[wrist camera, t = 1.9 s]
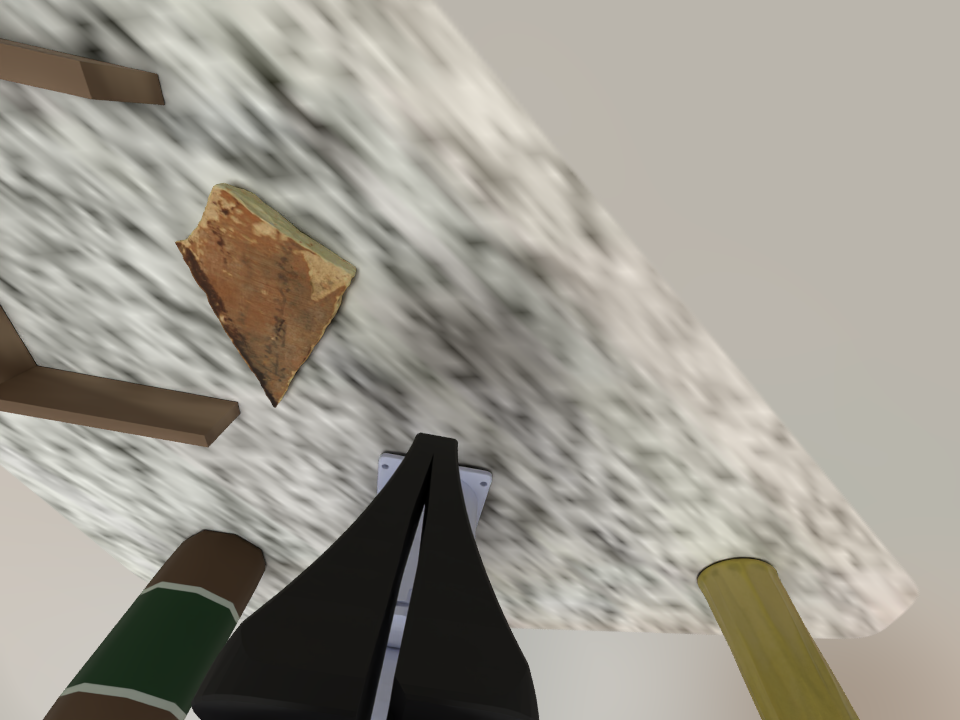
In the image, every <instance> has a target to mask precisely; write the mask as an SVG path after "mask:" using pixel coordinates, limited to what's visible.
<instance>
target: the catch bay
mask: <svg viewBox="0 0 960 720" xmlns="http://www.w3.org/2000/svg"><path fill="white" fill-rule="evenodd" d="M0 79H3V80H7V81H12V82H16V83H21V84H25V85H30V86H34V87H39V88H44V89H48V90H53V91H57V92H62V93H66V94H71V95H75V96H80V97H84V98H89V99H95V100H108V101H120V102H133V103H145V104H158V105H165V104H164V100H163V96H162V92H161V88H160V84H159V80H158V76H157V74H155V73H150V72H146V71H142V70H137V69H133V68H128V67H124V66H119V65H115V64H111V63H106V62H102V61H97V60H93V59H89V58H84V57H80V56H75V55H71V54H67V53H62V52H58V51H53V50H49V49H45V48H40V47H36V46H31V45H27V44H23V43H18V42H14V41H9V40H5V39H1V38H0ZM0 411H3V412H9V413H15V414H21V415H26V416H32V417H38V418H43V419H49V420H55V421H61V422H66V423H72V424H78V425H83V426H89V427H95V428H101V429H106V430H112V431H118V432H123V433H129V434H135V435H141V436H146V437H152V438H158V439H163V440H169V441H175V442H181V443H186V444H192V445H198V446H203V447H209V446H210V445H211V444H212V443H213V442H214V441H215V440H216V439H217V438H218V437H219V435H220V434H221V433H222V432H223V431H224V430H225V429H226V428H227V427H228V426H229V425H230V424H231V423H232V422H233V421H234V420H235V419H236V417H237V416H238V415H239V414H240V411H239V407H238V403H237V402H233V401H227V400H222V399H216V398H211V397H205V396H200V395H194V394H189V393H183V392H178V391H172V390H167V389H161V388H156V387H150V386H145V385H139V384H134V383H128V382H123V381H117V380H112V379H106V378H101V377H95V376H90V375H84V374H79V373H73V372H68V371H62V370H57V369H51V368H46V367H40V366H37V365H36V364H35V362H34V360H33V359H32V357H31V356H30V354H29V352H28V351H27V349H26V347H25V346H24V344H23V342H22V341H21V339H20V337H19V336H18V334H17V333H16V331H15V329H14V328H13V326H12V324H11V323H10V321H9V319H8V318H7V316H6V314H5V313H4V311H3V309H2V308H1V306H0Z"/></svg>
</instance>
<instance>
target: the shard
mask: <svg viewBox="0 0 960 720" xmlns="http://www.w3.org/2000/svg"><path fill="white" fill-rule="evenodd" d="M175 243H176V245H177V247H178V249H179V251H180V252H181V254H182V255H183V259H184V261H185V262H186V264H187V265H188V266H189V268H190V271H191V273H192V275H193V277H194V279H195V280H196V282H197V284H198V285H199V287H200V288H201V289H202V290H203V291H204V292H205V293H206V295H207V298H208V302H209V304H210V306H211V307H212V309H213V311H214V313H215V314H216V316H217V317H218V319H219V321H220V322H221V324H222V326H223V328H224V330H225V332H226V333H227V335H228V336H229V338H230V339H231V340H232V343H233V344H234V345H235V347H236V348H237V350H238V351H239V353H240V355H241V356H242V358H243V359H244V360H245V362H246V363H247V364H248V366H249V368H250V369H251V371H252V372H253V373H254V374H255V375H256V377H257V379H258V380H259V382H260V384H261V386H262V388H263V389H264V391H265V394H266V396H267V397H268V398H269V400H270V401H271V403H272V405H273V407H276V406H277V405H278V403H279V402H280V401H281V400H282V398H283V396H284V394H285V393H286V391H287V389H288V386H289V384H290V382H291V380H292V379H293V377H294V375H295V373H296V372H297V370H298V369H299V367H300V366H301V365H302V364H303V363H304V362H305V361H306V360H307V358H308V357H309V355H310V354H311V352H312V350H313V348H314V346H315V345H316V344H317V343H318V342H319V340H320V339H321V337H322V335H323V334H324V332H325V329H326V327H327V326H328V325H329V324H330V322H331V320H332V319H333V317H334V316H335V315H336V313H337V311H338V309H339V307H340V305H341V301H342V295H343V294H344V292H345V290H346V289H347V287H348V286H349V285H350V283H351V280H352V278H353V277H354V276H355V273H356V267H354V266H353V265H352V264H350V263H349V262H347V261H345V260H344V259H342V258H340V257H339V256H337V255H336V254H335V253H333V252H331V251H330V250H329V249H327V248H326V247H324V246H323V245H321V244H319V243H318V242H316V241H315V240H313V239H311V238H310V237H308V236H307V235H305V234H304V233H301V232H300V231H299V230H298V229H297V228H296V227H295V226H293V225H292V224H291V223H290V222H289V221H287V220H286V219H285V218H284V217H283V216H281V215H280V214H279V213H278V212H277V211H275V210H273V209H272V208H271V207H269V206H268V205H266V204H265V203H264V202H262V201H261V200H260V199H259V198H258V197H257V196H256V195H255V194H253V193H251V192H248V191H246V190H244V189H240V188H237V187H234V186H231V185H228V184H226V183H221V184H216V185H215V186H213V188H212V191H211V193H210V195H209V198H208V202H207V206H206V207H205V211H204V212H203V216H202V219H201V221H200V222H199V224H198V226H197V227H196V229H195V230H194V231H193V232H192V233H191V235H189V237H188V239H186V240H180V241H176V242H175Z"/></svg>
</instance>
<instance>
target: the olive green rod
mask: <svg viewBox="0 0 960 720" xmlns="http://www.w3.org/2000/svg"><path fill="white" fill-rule="evenodd" d="M698 586H699V588H700V589H701V591H702V592H703V594H704V596H705V598H706V600H707V602H708V604H709V606H710V608H711V610H712V612H713V615H714V617H715V619H716V621H717V623H718V625H719V626H720V628H721V631H722V633H723V635H724V637H725V639H726V641H727V643H728V645H729V647H730V649H731V652H732V654H733V656H734V658H735V661H736V663H737V665H738V667H739V670H740V672H741V674H742V677H743V679H744V681H745V684H746V685H747V688H748V690H749V692H750V695H751V697H752V699H753V701H754V703H755V706H756V708H757V710H758V712H759V714H760V717H761V719H762V720H860V719H859V718H858V716H857V714H856V712H855V711H854V709H853V707H852V706H851V704H850V702H849V700H848V698H847V697H846V695H845V693H844V692H843V689H842V688H841V686H840V684H839V682H838V681H837V679H836V677H835V676H834V674H833V672H832V670H831V669H830V667H829V665H828V663H827V662H826V660H825V659H824V657H823V655H822V653H821V652H820V650H819V648H818V647H817V645H816V644H815V642H814V640H813V638H812V637H811V635H810V633H809V632H808V630H807V628H806V627H805V625H804V623H803V621H802V619H801V617H800V616H799V614H798V612H797V610H796V608H795V606H794V605H793V603H792V601H791V599H790V597H789V595H788V594H787V592H786V590H785V588H784V586H783V585H782V583H781V581H780V579H779V577H778V574H777V571H776V570H775V569H774V568H773V567H772V566H771V565H769V564H768V563H765V562H763V561H760V560H756V559H748V558H738V559H730V560H726V561H722V562H718V563H716V564H713V565H711V566H709V567H708V568H706V569H705V570H704V571H702V572H701V574H700V575H699V577H698Z"/></svg>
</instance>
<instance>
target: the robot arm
mask: <svg viewBox="0 0 960 720" xmlns="http://www.w3.org/2000/svg"><path fill="white" fill-rule="evenodd" d="M491 482H492V474H491V473H490V472H488V471H484V470H479V469H473V468H468V467H462V466H459V465H458V441H457V440H456V439H452V438H447V437H441V436H436V435H430V434H425V433H419V434H417V435H416V437H415V440H414V442H413V444H412V445H411V447H410V449H409V451H408V452H407V454H406V456H400V455H395V454H389V453H383V454H381V455H380V458H379V463H378V483H377V496H376V497H375V498H374V500H373V501H372V502H371V503H370V505H369V506H368V507H367V508H366V509H365V510H364V512H363V513H362V514H361V515H360V516H359V517H358V518H357V519H356V521H355V522H354V523H353V524H352V525H351V526H350V527H349V528H348V529H347V530H346V531H345V532H344V533H343V534H342V535H341V536H340V537H339V538H338V539H337V540H336V541H335V542H334V543H333V544H332V545H331V546H330V547H329V548H328V549H327V550H326V551H325V552H324V553H323V554H322V555H321V556H320V557H319V558H318V559H317V560H316V561H315V562H313V563H312V564H311V565H310V566H309V567H308V568H307V569H306V570H304V571H303V572H302V573H301V574H300V575H299V576H298V577H297V578H295V579H294V580H293V581H292V582H291V583H290V584H289V585H287V586H286V587H285V588H284V589H283V590H281V591H280V592H279V593H278V594H277V595H275V596H274V597H273V598H272V599H270V600H269V601H268V602H267V603H265V604H264V605H263V606H262V607H260V608H259V609H258V610H257V611H255V612H254V613H253V614H252V615H250V616H249V617H248V618H247V619H245V620H244V621H243V622H242V623H241V624H240V626H239V627H238V628H237V629H236V631H235V632H234V633H233V635H232V636H231V637H230V638H229V640H228V641H227V643H226V644H225V645H224V647H223V648H222V650H221V651H220V653H219V654H218V656H217V657H216V659H215V660H214V662H213V663H212V665H211V667H210V668H209V670H208V672H207V674H206V676H205V678H204V679H203V681H202V683H201V685H200V687H199V689H198V690H197V692H196V694H195V696H194V698H193V700H192V702H191V705H192V709H193V711H194V713H195V714H196V715H197V716H198V717H199V718H200V719H201V720H539V713H538V707H537V699H536V694H535V689H534V685H533V681H532V677H531V673H530V669H529V665H528V663H527V661H526V659H525V657H524V655H523V653H522V651H521V649H520V647H519V645H518V643H517V641H516V639H515V637H514V635H513V633H512V631H511V629H510V627H509V625H508V623H507V620H506V618H505V616H504V614H503V612H502V609H501V607H500V605H499V603H498V600H497V598H496V595H495V593H494V591H493V588H492V586H491V583H490V581H489V578H488V576H487V573H486V571H485V568H484V565H483V563H482V560H481V557H480V554H479V551H478V548H477V545H476V542H475V535H476V528H477V524H478V521H479V518H480V515H481V512H482V509H483V506H484V503H485V500H486V497H487V494H488V491H489V488H490V485H491Z"/></svg>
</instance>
